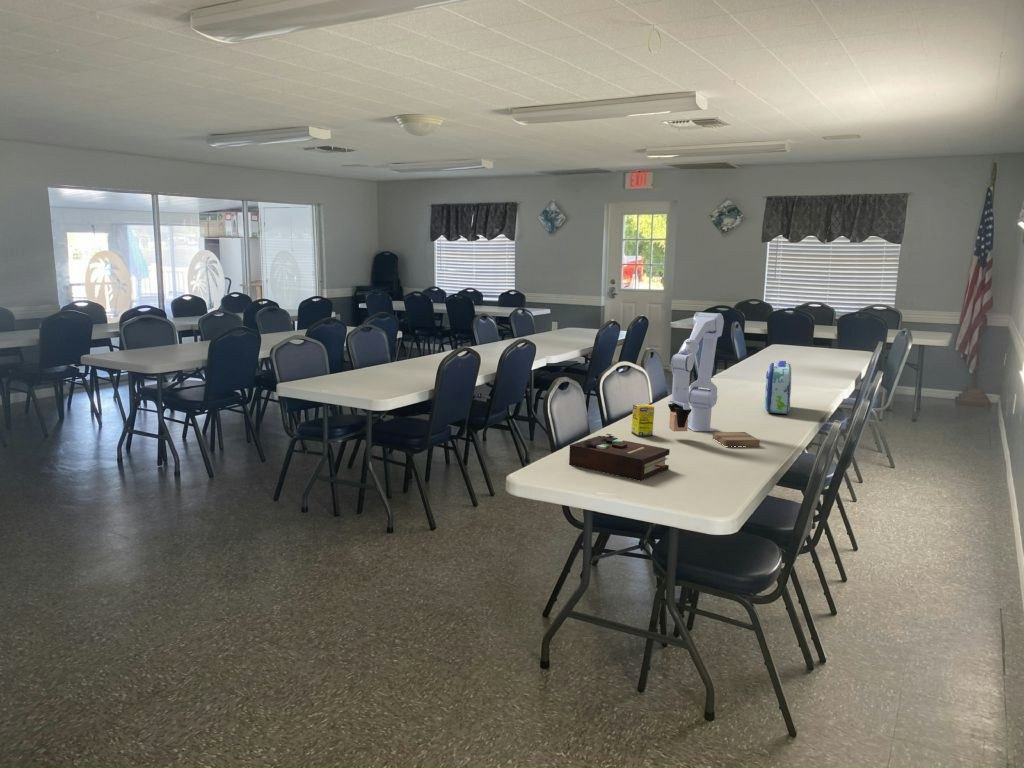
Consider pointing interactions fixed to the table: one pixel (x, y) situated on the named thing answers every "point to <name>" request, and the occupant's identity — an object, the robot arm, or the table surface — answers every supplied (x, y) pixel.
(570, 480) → the table surface
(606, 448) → the decorative book
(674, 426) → the terracotta block
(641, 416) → the supplement box
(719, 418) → the table surface
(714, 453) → the table surface
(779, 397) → the lunch box
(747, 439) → the walnut block
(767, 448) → the table surface
